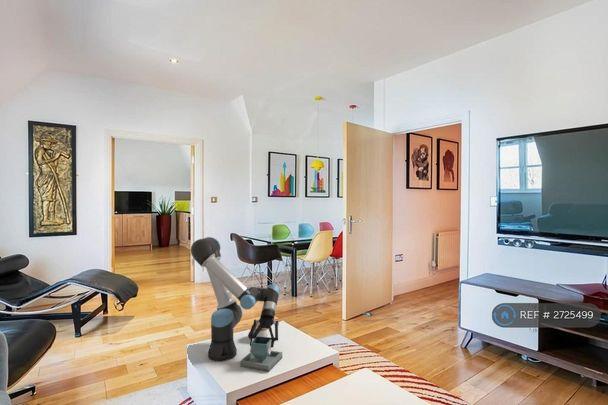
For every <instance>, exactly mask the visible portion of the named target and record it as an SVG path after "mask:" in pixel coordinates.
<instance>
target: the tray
mask: <svg viewBox="0 0 608 405" xmlns="http://www.w3.org/2000/svg"><path fill="white" fill-rule="evenodd" d="M282 359H283V351H278V350H277V351H276V350H272V349H271V352H270V355H268V356H267V357H266V359H265V360H262V359H255V357H254V356H253V353H250V352H249V353H248V354H247V355H245V356H244V357H243V358H241V360H240V361H239V363H240V364H239V367H240V368H244V369H250V370H256V371H261V372H266V373H269V372H271V370H272V369H273V368H275V366H276V365H277V364H278V363H279V362H280V361H281V360H282Z"/></svg>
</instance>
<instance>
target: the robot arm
mask: <svg viewBox="0 0 608 405" xmlns="http://www.w3.org/2000/svg"><path fill="white" fill-rule="evenodd" d="M190 254H191V257H192V258H193V260H194V261H195V262H197V264H198V265H199V266H200V267H201V268H205V269H206V271H207V274H208V277H209V281H210V283H211V286H212V289H213V292H214V296H215V298H216V302H217V306H216V310H214V312H212V314H211V318H210V330H211V331H210V337H211V340H210V341H211V342H210V345H209V349H208V351H207V352H208V353H207V357H208V359H209V360H210V361H212V362H226V361H229V360H232V359H234V358H235V357H236V356H237V350H238V349H237V347H236V343H235V340H234V328H235V327H236V326H237V325H238V324H239V323H240V322H241V320H242V318H243V310H250V309H252V308H254V307H255V305H256V303H257V302H261V303H262V302H263V305H262V308H261V313H260V318H259V319H253V324H252V325H253V326H251V328H250V330H249V332H248V334H247V337H248V339H249V346H250V348H249V353H252V348H251V342H252V341H253V340H254V339H255V337H256V336H257V335H258V333H259V332H260V331H261V330H262V329H263V328H267V329H268V328H269V335H270V338H271V339H272V340H270V342H269V347H268V352H267V353H268V355H270V352H271V350H272V349H273V348H274V345H275V342H278V341H279V324H280V323H279V321H278V320H276V321H275V315H276V311H277V306H278V301H279V295H280V288H279V286H278V285H277V284H268V285H267V287H264V288H263V287H257V286H255V287H254V286H246V285H245V284H244V283H243V282H242V281H241V280H240V279H238V278H237V277H236V275H235V274H233V273H232V272H231V271H230V270H229V269H228V268H227V267H226V266H225V265H224V263H222V262H221V261H220V260H221V258H222V254H221V243H220V241H219V240H218V239H217V238H215V237H212V236H207V237H203V238H199V239H197V240H195V241H194V242H193V243H192V244H191V245H190ZM232 295H233V296H234V297H235V298H236V299H237V300H238V301H239V304H240V305H239V304H238V302H237V300H236V299H234V298H233V296H232ZM258 323H260V324H259V326H258V328H257V329H256V331H255V332H254V330H255V328H256V326H257V324H258ZM273 325H274V333H273V329H272V326H273Z"/></svg>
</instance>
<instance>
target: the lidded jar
mask: <svg viewBox="0 0 608 405" xmlns="http://www.w3.org/2000/svg"><path fill="white" fill-rule="evenodd" d="M259 324H260V323H258V324H257V326H256V328H255V330H254V332H255V331H256V329H257V328H258V326H259ZM252 326H253V324H252ZM252 326H251V327H252ZM269 335H270V331H269V328H268V329H267V328H263V329H262V330H261V331H260V332H259V333H258V335H257V336H258V337H268V336H269ZM257 336H256V337H257Z"/></svg>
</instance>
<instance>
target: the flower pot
mask: <svg viewBox="0 0 608 405" xmlns="http://www.w3.org/2000/svg"><path fill="white" fill-rule="evenodd" d="M270 340H272V339H271V336H270V337H268V336H267V337H258V336H257V337H255V339H254V340H253V341H252V342H251V346H250V347H251V348H252V353H253V356H254V357H255V359H262V360H265V359H266V357H267V356H268V353H267V352H268V347H269V342H270Z"/></svg>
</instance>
